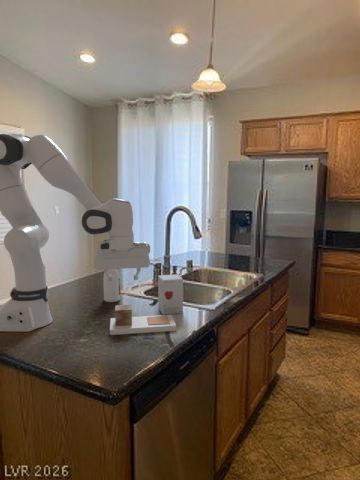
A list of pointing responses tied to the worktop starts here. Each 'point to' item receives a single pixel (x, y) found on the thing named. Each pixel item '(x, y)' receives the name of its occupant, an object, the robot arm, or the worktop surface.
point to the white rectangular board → (141, 326)
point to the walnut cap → (123, 315)
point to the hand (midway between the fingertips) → (122, 280)
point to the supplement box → (170, 294)
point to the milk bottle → (112, 286)
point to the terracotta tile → (158, 320)
